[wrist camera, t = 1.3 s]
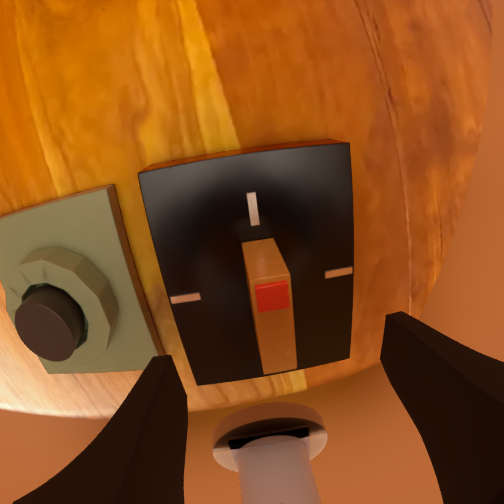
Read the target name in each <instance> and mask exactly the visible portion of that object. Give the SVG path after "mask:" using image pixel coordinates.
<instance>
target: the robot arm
mask: <svg viewBox="0 0 504 504" xmlns="http://www.w3.org/2000/svg"><path fill="white" fill-rule="evenodd" d="M380 360H381V363H382V365H383V367H384V370H385V372H386V374H387V377H388V379H389V381H390V383H391V385H392V387H393V388H394V390H395V392H396V393H397V395H398V397H399V398H400V400H401V402H402V403H403V405H404V407H405V409H406V410H407V412H408V414H409V415H410V417H411V419H412V420H413V422H414V424H415V425H416V427H417V429H418V431H419V433H420V435H421V437H422V439H423V442H424V444H425V447H426V449H427V452H428V454H429V457H430V459H431V462H432V465H433V468H434V471H435V474H436V477H437V481H438V484H439V488H440V491H441V494H442V499H443V503H444V504H504V362H502V361H499V360H497V359H494V358H491V357H489V356H486V355H484V354H481V353H479V352H477V351H475V350H473V349H470V348H469V347H467V346H464V345H462V344H460V343H459V342H457V341H455V340H453V339H451V338H449V337H447V336H445V335H444V334H442V333H440V332H438V331H437V330H435V329H433V328H431V327H429V326H428V325H426V324H424V323H422V322H421V321H419V320H417V319H415V318H414V317H412V316H410V315H408V314H406V313H404V312H402V311H400V312H396V313H392V314H388V315H386V320H385V328H384V335H383V343H382V349H381V356H380ZM187 428H188V407H187V395H186V392H185V390H184V387H183V385H182V382H181V380H180V377H179V375H178V372H177V370H176V367H175V364H174V362H173V359H172V356H171V355H162V356H153V357H152V359H151V360H150V362H149V363H148V365H147V366H146V368H145V369H144V371H143V373H142V374H141V376H140V377H139V379H138V380H137V382H136V384H135V385H134V387H133V388H132V390H131V391H130V393H129V394H128V396H127V397H126V399H125V400H124V402H123V403H122V404H121V406H120V407H119V409H118V410H117V411H116V413H115V414H114V415H113V417H112V418H111V419H110V421H109V422H108V423H107V425H106V426H105V427H104V428H103V430H102V431H101V432H100V433H99V434H98V435H97V437H96V438H95V439H94V440H93V441H92V442H91V444H89V445H88V447H87V448H85V450H84V451H82V452H81V454H79V455H78V456H77V457H76V458H75V459H74V460H73V461H72V462H71V463H69V464H68V465H67V466H66V467H65V468H64V469H63V470H61V471H60V472H59V473H58V474H56V475H55V476H54V477H53V478H51V479H50V480H48V481H47V482H46V483H44V484H43V485H41V486H40V487H38V488H37V489H35V490H33V491H32V492H30V493H28V494H27V495H25V496H23V497H22V498H20V499H18V500H16V501H14V502H13V504H184V489H183V487H184V466H185V453H186V441H187V440H186V439H187ZM227 443H228V445H229V448H230V451H231V453H232V456H233V458H234V461H235V463H236V466H237V468H238V471H239V480H240V490H241V499H242V504H321V500H320V497H319V493H318V490H317V486H316V482H315V479H314V475H313V471H312V467H311V464H310V460H309V426H308V425H307V424H304V425H299V426H294V427H289V428H284V429H278V430H273V431H267V432H261V433H254V434H248V435H240V436H233V437H229V438H228V439H227Z"/></svg>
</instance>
